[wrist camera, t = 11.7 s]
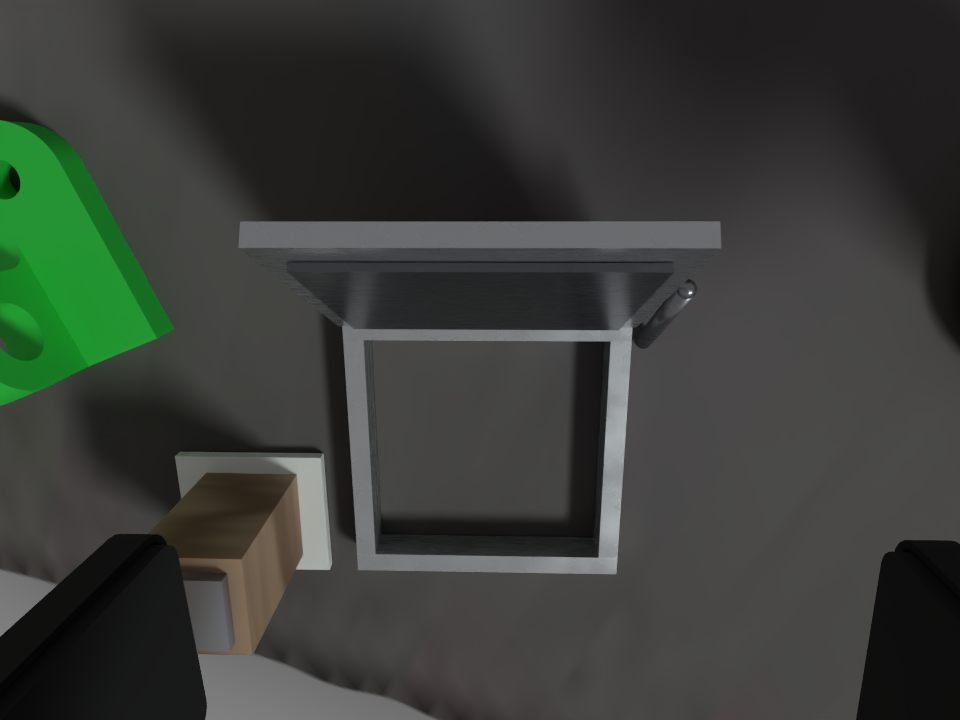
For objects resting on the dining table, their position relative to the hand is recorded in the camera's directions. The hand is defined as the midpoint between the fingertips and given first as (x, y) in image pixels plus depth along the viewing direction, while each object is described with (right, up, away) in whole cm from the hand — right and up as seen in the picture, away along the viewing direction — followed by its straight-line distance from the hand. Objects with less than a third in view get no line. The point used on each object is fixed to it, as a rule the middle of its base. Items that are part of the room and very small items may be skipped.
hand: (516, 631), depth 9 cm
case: (+1, +2, +26) cm, 26 cm away
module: (-13, -5, +28) cm, 31 cm away
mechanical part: (-22, +10, +25) cm, 34 cm away
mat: (-13, -5, +29) cm, 32 cm away
